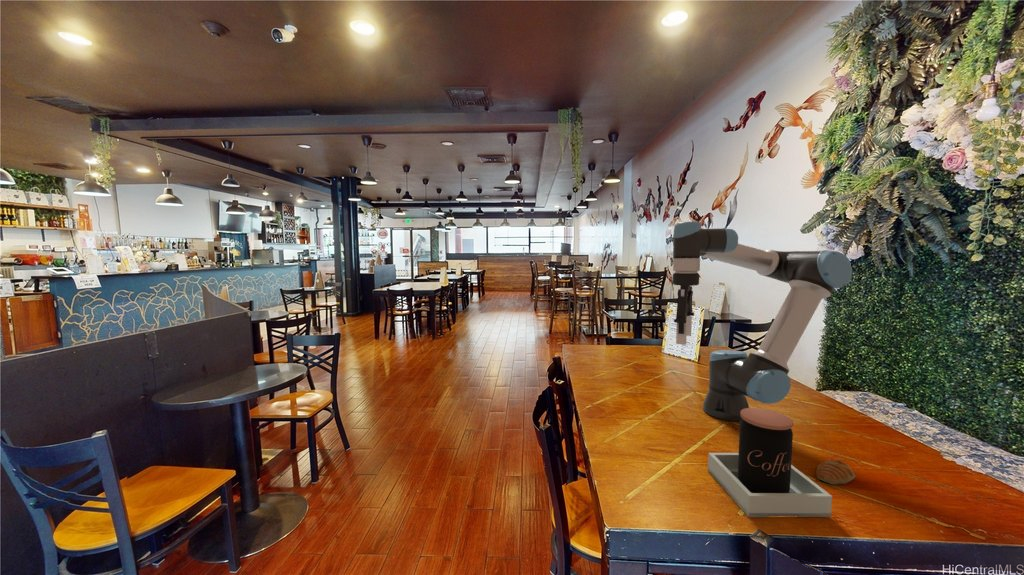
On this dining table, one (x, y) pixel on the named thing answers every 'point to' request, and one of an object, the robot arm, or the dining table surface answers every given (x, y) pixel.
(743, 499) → the tray
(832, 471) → the pastry
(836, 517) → the dining table surface
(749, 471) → the coffee jar
